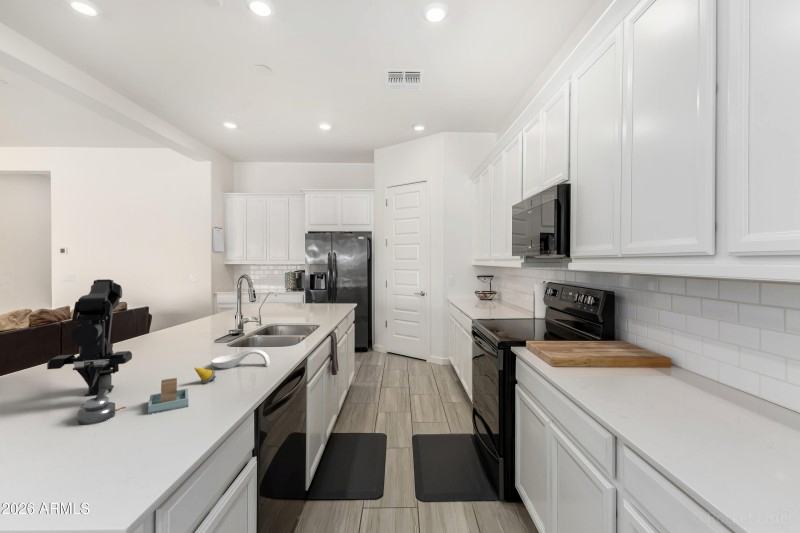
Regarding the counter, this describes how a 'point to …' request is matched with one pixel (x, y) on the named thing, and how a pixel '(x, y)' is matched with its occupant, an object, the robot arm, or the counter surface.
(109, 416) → the crank base
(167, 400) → the block
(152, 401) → the tray
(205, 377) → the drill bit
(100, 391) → the crank
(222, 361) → the spoon rest
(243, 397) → the counter surface
